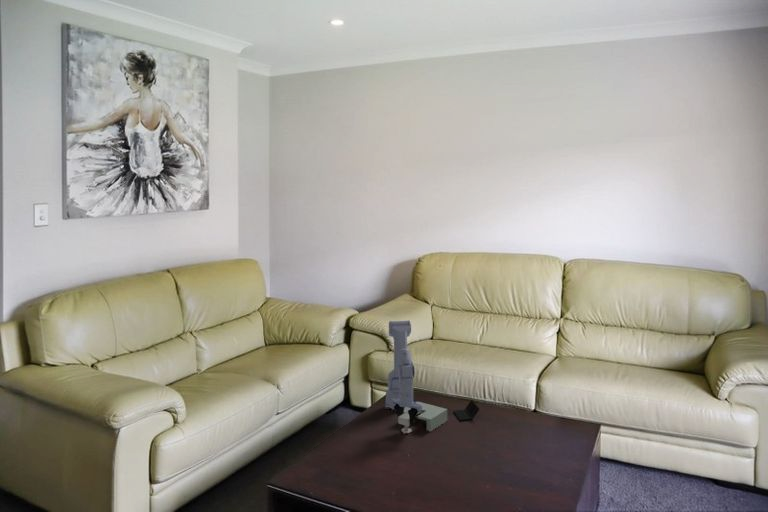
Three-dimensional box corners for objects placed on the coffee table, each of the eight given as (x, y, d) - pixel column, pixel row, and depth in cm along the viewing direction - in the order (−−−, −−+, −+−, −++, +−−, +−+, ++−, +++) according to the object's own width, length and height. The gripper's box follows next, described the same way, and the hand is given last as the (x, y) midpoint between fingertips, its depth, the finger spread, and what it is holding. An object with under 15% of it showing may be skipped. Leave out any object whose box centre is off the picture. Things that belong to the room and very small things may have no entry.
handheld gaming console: (449, 409, 267) (462, 392, 266) (459, 416, 270) (472, 399, 269) (459, 422, 256) (473, 404, 256) (470, 429, 259) (484, 412, 259)
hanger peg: (398, 432, 246) (398, 416, 245) (405, 428, 250) (405, 412, 249) (408, 435, 243) (408, 419, 242) (414, 431, 247) (414, 415, 246)
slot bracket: (400, 422, 256) (400, 410, 255) (417, 412, 267) (417, 401, 266) (430, 431, 246) (430, 419, 246) (447, 420, 258) (447, 409, 257)
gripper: (387, 391, 245) (387, 422, 247) (415, 398, 236) (415, 430, 238) (396, 386, 251) (396, 416, 252) (424, 393, 242) (424, 424, 244)
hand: (406, 423), depth 246 cm, fingers closed on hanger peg, 5 cm apart
